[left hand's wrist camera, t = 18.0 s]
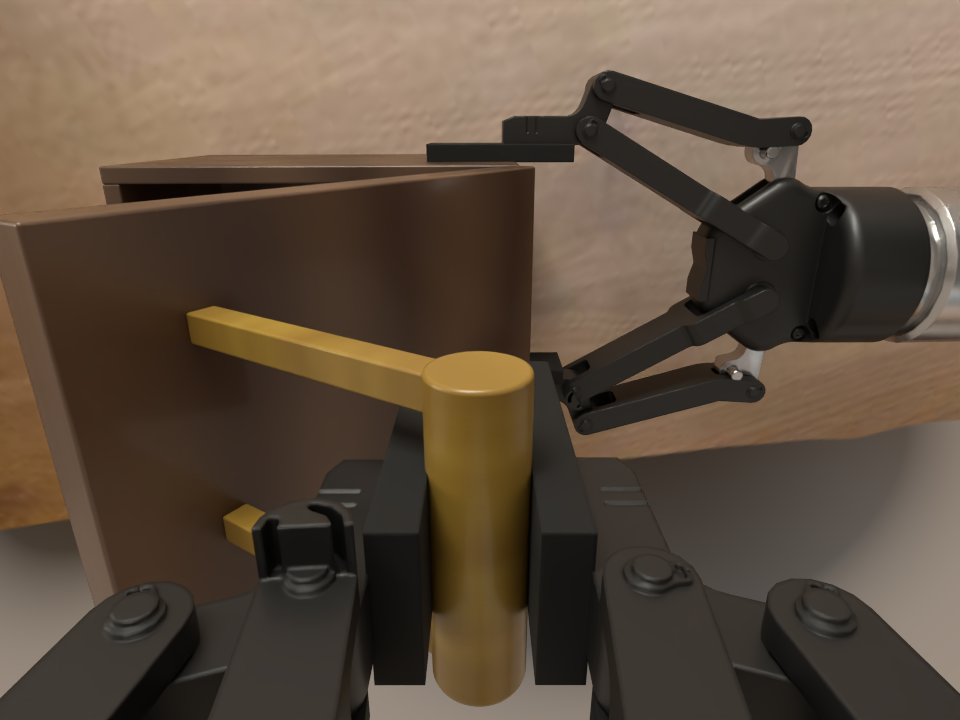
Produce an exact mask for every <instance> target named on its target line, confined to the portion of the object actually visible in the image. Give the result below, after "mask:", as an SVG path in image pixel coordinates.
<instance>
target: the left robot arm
mask: <svg viewBox="0 0 960 720" xmlns="http://www.w3.org/2000/svg"><path fill="white" fill-rule="evenodd" d="M526 362H527V363H529V365H530V366H531V367H532V369H533V371H534V374H535V382H534V415H533V447H532V477H531V509H530V540H529V572H528V603H527V605H528V615H529V625H530V635H531V646H532V656H533V666H534V676H535V684H536V685H586V676H587V664H588V665H589V669H590V674H591V679H592V684H593V689H592V700H591V712H590V720H960V693H959V692H958V691H956V690H955V689H954V688H953V687H952V686H951V685H950V684H949V683H948V682H947V681H946V680H945V679H944V678H943V677H942V676H941V675H940V674H939V673H938V672H937V671H936V670H935V669H934V668H933V667H932V666H931V665H930V664H929V663H928V662H926V661H925V660H924V659H923V658H922V657H921V656H920V655H919V654H918V653H917V652H916V651H915V650H914V649H913V648H912V647H911V646H910V645H909V644H908V643H907V642H906V641H905V640H904V639H903V638H902V637H901V636H900V635H899V634H898V633H897V632H895V631H894V630H893V629H892V628H891V627H890V626H889V625H888V624H887V623H886V622H885V621H884V620H883V619H882V618H881V617H880V616H879V615H878V614H877V613H876V612H875V611H874V610H873V609H872V608H870V607H869V606H868V605H866V604H865V603H864V602H863V601H861V600H860V599H859V598H857V597H856V596H854V595H853V594H851V593H849V592H847V591H845V590H842V589H840V588H838V587H836V586H834V585H831V584H828V583H824V582H820V581H816V580H812V579H789V580H785V581H782V582H779V583H776V584H775V585H774V586H773V588H772V589H771V590H770V591H769V592H768V595H767V600H766V603H765V602H760V601H756V600H751V599H747V598H743V597H738V596H734V595H730V594H726V593H723V592H720V591H716V590H714V589H711V588H709V587H707V586H705V585H703V583H702V580H701V578H700V577H699V575H698V574H697V572H696V571H695V569H694V568H693V566H691V565H690V564H689V563H687V562H686V561H685V560H683V559H682V558H681V557H679V556H678V555H675V554H673V553H671V552H670V550H669V548H668V545H667V543H666V541H665V539H664V537H663V534H662V532H661V530H660V528H659V525H658V523H657V521H656V519H655V516H654V514H653V512H652V510H651V508H650V506H649V505H648V501H647V499H646V497H645V494H644V492H643V491H642V488H641V485H640V483H639V481H638V479H637V477H636V474H635V472H634V471H633V470H632V469H630V468H629V467H628V466H627V465H625V464H624V463H623V462H622V461H621V460H619V459H618V458H576V456H575V452H574V449H573V446H572V442H571V439H570V435H569V432H568V428H567V425H566V422H565V418H564V415H563V411H562V408H561V405H560V401H559V398H558V394H557V391H556V387H555V384H554V381H553V377H552V374H551V370H550V367H549V363H548V361H526ZM251 531H252V538H253V544H254V551H255V557H256V563H257V570H258V576H259V581H258V584H257V587H256V588H255V589H253V590H250V591H248V592H246V593H243V594H239V595H236V596H233V597H229V598H225V599H220V600H216V601H212V602H207V603H203V604H199V605H195V602H194V597H193V594H192V593H191V592H190V591H189V590H188V589H187V588H186V587H185V586H184V585H180V584H177V583H174V582H171V581H161V582H148V583H144V584H140V585H136V586H132V587H128V588H126V589H124V590H122V591H120V592H118V593H116V594H114V595H112V596H110V597H108V598H106V599H105V600H104V601H102V602H101V603H100V604H98V605H97V606H96V607H94V608H93V609H92V610H91V611H89V612H88V613H87V614H86V615H85V616H84V617H83V618H82V619H81V620H80V621H79V622H78V623H77V624H76V625H75V626H74V627H73V628H72V629H71V630H70V631H69V632H68V633H67V634H66V635H65V636H64V637H63V638H62V639H61V640H60V641H59V642H58V643H57V644H56V645H55V646H53V647H52V648H51V650H49V651H48V652H47V653H46V654H45V655H44V656H43V657H42V658H41V659H40V660H39V661H38V662H37V663H36V664H35V665H34V666H33V667H32V668H31V669H30V670H29V671H28V672H27V673H26V674H25V675H24V676H23V677H22V678H21V679H20V680H19V681H18V682H17V683H16V684H14V685H13V686H12V688H10V689H9V690H8V691H7V692H6V693H5V694H4V695H3V696H2V697H1V698H0V720H369V719H370V712H369V700H368V685H369V680H370V675H371V670H372V665H373V670H374V682H375V685H425V681H426V671H427V661H428V651H429V641H430V631H431V621H432V584H431V556H430V528H429V500H428V475H427V473H426V471H425V460H424V435H423V413H421V412H418V411H414V410H411V409H408V408H404V407H401V406H400V407H399V410H398V414H397V417H396V420H395V424H394V427H393V431H392V434H391V438H390V441H389V444H388V448H387V451H386V455H385V458H384V460H343V461H341V462H340V463H339V464H338V465H336V466H335V467H334V468H333V469H332V470H330V471H329V472H328V473H327V474H326V476H325V478H324V480H323V483H322V485H321V487H320V489H319V493H318V494H317V496H316V498H308V499H302V500H295V501H291V502H288V503H285V504H282V505H280V506H277V507H274V508H273V509H271V510H270V511H268V512H267V513H265V514H264V515H262V516H261V517H260V518H259V519H258V520H257V522H256V523H255V524H254V526H253V527H252V528H251Z"/></svg>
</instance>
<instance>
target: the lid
mask: <svg viewBox="0 0 960 720" xmlns="http://www.w3.org/2000/svg"><path fill="white" fill-rule="evenodd" d="M534 185H535V168H534V167H531V166H500V167H490V168H479V169H469V170H459V171H449V172H438V173H428V174H418V175H408V176H397V177H387V178H377V179H367V180H356V181H346V182H336V183H326V184H316V185H305V186H295V187H285V188H275V189H264V190H254V191H244V192H234V193H223V194H213V195H203V196H193V197H182V198H172V199H162V200H152V201H141V202H131V203H121V204H111V205H100V206H90V207H80V208H70V209H60V210H49V211H39V212H29V213H19V214H8V215H0V276H1V280H2V283H3V287H4V290H5V294H6V297H7V301H8V304H9V308H10V311H11V315H12V318H13V322H14V325H15V329H16V332H17V336H18V339H19V343H20V346H21V350H22V353H23V357H24V360H25V364H26V367H27V371H28V374H29V378H30V381H31V385H32V388H33V392H34V395H35V399H36V402H37V406H38V409H39V413H40V416H41V420H42V423H43V427H44V430H45V434H46V437H47V441H48V444H49V448H50V451H51V455H52V458H53V462H54V465H55V469H56V472H57V476H58V479H59V483H60V486H61V490H62V493H63V497H64V500H65V504H66V507H67V511H68V514H69V518H70V521H71V525H72V528H73V532H74V535H75V539H76V542H77V546H78V549H79V552H80V556H81V560H82V563H83V567H84V570H85V574H86V577H87V581H88V584H89V588H90V591H91V595H92V598H93V602H94V605H95V607H96V606H97V605H98V604H100V603H101V602H102V601H104V600H105V599H106V598H108V597H110V596H112V595H114V594H116V593H118V592H120V591H122V590H124V589H126V588H128V587H132V586H136V585H140V584H144V583H148V582H161V581H171V582H174V583H177V584H180V585H184V586H185V587H186V588H187V589H188V590H189V591H190V592H191V593H192V594H193V597H194V602H195V605H199V604H203V603H207V602H212V601H216V600H220V599H225V598H229V597H233V596H236V595H239V594H243V593H246V592H248V591H250V590H253V589H255V588H256V587H257V584H258V581H259V576H258V570H257V563H256V557H255V551H254V544H253V538H252V531H251V528H252V527H253V526H254V524H255V523H256V522H257V520H258V519H259V518H260V517H261V516H262V515H264V514H265V513H267V512H268V511H270V510H271V509H273V508H274V507H277V506H280V505H282V504H285V503H288V502H291V501H295V500H302V499H308V498H316V496H317V494H318V493H319V489H320V487H321V485H322V483H323V480H324V478H325V476H326V474H327V473H328V472H329V471H330V470H332V469H333V468H334V467H335V466H336V465H338V464H339V463H340V462H341V461H343V460H384V458H385V455H386V451H387V448H388V444H389V441H390V438H391V434H392V431H393V427H394V424H395V420H396V417H397V414H398V410H399V407H400V406H401V407H404V408H408V409H411V410H414V411H418V412H421V413H423V435H424V460H425V471H426V473H427V475H428V500H429V528H430V556H431V584H432V621H431V631H430V641H429V652H430V653H432V658H433V673H434V677H435V680H436V682H437V684H438V685H439V687H440V688H441V690H442V691H443V692H444V693H445V694H446V695H447V696H448V697H450V698H451V699H453V700H455V701H457V702H459V703H461V704H464V705H469V706H476V707H483V706H490V705H494V704H497V703H500V702H502V701H504V700H506V699H507V698H509V697H510V696H511V695H512V694H513V693H514V692H515V691H516V690H517V689H518V688H519V686H520V684H521V683H522V681H523V678H524V676H525V670H526V643H527V610H528V605H527V603H528V572H529V540H530V509H531V477H532V447H533V415H534V382H535V374H534V371H533V369H532V367H531V366H530V365H529V363H527V362H526V361H530V331H531V294H532V258H533V221H534Z"/></svg>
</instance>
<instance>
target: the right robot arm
mask: <svg viewBox="0 0 960 720" xmlns="http://www.w3.org/2000/svg"><path fill="white" fill-rule="evenodd" d="M611 109H615V110H618V111H621V112H624V113H628V114H631V115H634V116H637V117H640V118H643V119H646V120H649V121H652V122H656V123H659V124H662V125H665V126H668V127H671V128H674V129H677V130H680V131H684V132H687V133H690V134H693V135H696V136H699V137H702V138H705V139H709V140H712V141H715V142H718V143H721V144H725V145H731V146H741V147H745V158H746V160H747V161H748V162H749V163H751V164H755V165H759V166H760V167H762V169H763V170H764V172H765V179H763V180H761V181H759V182H758V183H756V184H755V185H754V186H752V187H751V188H749V189H748V190H746V191H745V192H743V193H742V194H740V195H739V196H737V197H736V198H734V199H733V200H731V201H728V200H727V199H725V198H724V197H722V196H720V195H718V194H716V193H714V192H712V191H711V190H709V189H707V188H706V187H704V186H703V185H701V184H700V183H698V182H697V181H695V180H693V179H692V178H690V177H689V176H687V175H686V174H684V173H683V172H681V171H679V170H678V169H676V168H675V167H673V166H672V165H670V164H669V163H667V162H665V161H664V160H662V159H661V158H659V157H658V156H656V155H655V154H653V153H651V152H650V151H648V150H647V149H645V148H644V147H642V146H641V145H639V144H638V143H636V142H634V141H633V140H631V139H630V138H628V137H627V136H625V135H624V134H622V133H620V132H619V131H617V130H616V129H614V128H613V127H611V126H610V125H608V124H606V121H607V119H608V116H609V114H610V111H611ZM811 132H812V125H811V123H810V121H809V120H808V119H807V118H805V117H776V118H761V119H758V118H755V117H752V116H749V115H746V114H743V113H740V112H737V111H734V110H731V109H728V108H725V107H722V106H719V105H716V104H713V103H710V102H707V101H704V100H700V99H697V98H694V97H691V96H688V95H685V94H682V93H679V92H676V91H673V90H670V89H667V88H664V87H661V86H658V85H655V84H652V83H649V82H646V81H643V80H639V79H636V78H633V77H630V76H627V75H624V74H621V73H618V72H615V71H609V70H607V71H604V72H601V73H599V74H597V75H595V76H593V77H591V78H590V79H589V80H588V82H587V84H586V87H585V92H584V95H583V97H582V100H581V103H580V105H579V107H578V109H577V110H576V111H575V112H574V113H572V114H571V115H568V116H513V117H511V118H509V119H506V120H504V121H502V143H429V144H426V147H427V162H574V147H575V145H580V146H582V147H583V148H585V149H586V150H588V151H590V152H591V153H593V154H594V155H596V156H597V157H599V158H601V159H602V160H604V161H605V162H607V163H609V164H610V165H612V166H613V167H615V168H616V169H618V170H620V171H621V172H623V173H624V174H626V175H628V176H629V177H631V178H632V179H634V180H636V181H637V182H639V183H640V184H642V185H643V186H645V187H647V188H648V189H650V190H651V191H653V192H655V193H656V194H658V195H659V196H661V197H662V198H664V199H666V200H667V201H669V202H670V203H672V204H674V205H675V206H677V207H678V208H680V209H681V210H682V211H684V212H685V213H687V214H688V215H690V216H692V217H693V218H695V219H696V220H698V221H699V222H701V223H702V224H701V225H700V227H699V228H698V231H697V232H693V237H692V246H691V248H692V254H693V265H692V268H691V270H690V273H689V276H688V279H687V287H686V292H687V293H688V294H689V295H690V296H689V297H687V298H686V299H684V300H682V301H680V302H678V303H676V304H674V305H673V306H671V307H670V308H669V310H668V312H666V313H665V314H663V315H661V316H659V317H657V318H655V319H653V320H652V321H650V322H648V323H646V324H644V325H642V326H640V327H638V328H636V329H635V330H633V331H631V332H629V333H627V334H625V335H623V336H621V337H619V338H617V339H616V340H614V341H612V342H610V343H608V344H606V345H604V346H602V347H600V348H599V349H597V350H595V351H593V352H591V353H589V354H587V355H585V356H583V357H581V358H580V359H578V360H576V361H574V362H572V363H570V364H568V365H566V366H564V367H563V368H562V365H561V362H560V359H559V357H558V354H557V352H530V361H548V363H549V367H550V370H551V374H552V377H553V381H554V384H555V387H556V391H557V394H558V398H559V401H561V402H563V403H564V404H565V405H566V406H567V408H568V410H569V413H570V416H571V419H572V421H573V424H574V427H575V429H576V431H577V432H578V433H579V434H582V435H589V434H593V433H597V432H601V431H604V430H608V429H612V428H616V427H620V426H624V425H628V424H631V423H635V422H639V421H643V420H647V419H651V418H655V417H658V416H662V415H666V414H670V413H674V412H678V411H682V410H685V409H689V408H693V407H697V406H701V405H705V404H709V403H712V402H716V401H731V402H748V403H752V402H757V401H759V400H760V399H761V398H762V397H763V396H764V394H765V387H764V385H763V384H762V383H761V382H760V381H759V380H758V376H759V372H760V368H761V364H762V360H763V356H764V352H765V351H766V350H769V349H771V348H773V347H775V346H777V345H780V344H783V343H786V342H878V341H881V340H885V341H890V342H896V343H903V342H955V341H960V187H905V188H902V189H900V190H898V189H896V188H892V187H809V186H807V185H805V184H803V183H801V182H800V181H799V180H797V179H795V173H796V164H797V155H798V146H799V145H802V144H803V143H805V142H806V141H807V140H808V139H809V137H810V136H811ZM725 333H727V334H729V335H730V336H731V337H732V338H734V339H735V340H736V341H738V342H739V344H738V347H737V348H736V350H734V351H733V352H731V353H728V354H723V355H718V356H717V357H716V358H715V363H701V364H695V365H690V366H687V367H683V368H679V369H675V370H672V371H668V372H664V373H660V374H657V375H653V376H649V377H645V378H642V379H638V380H634V381H630V382H627V383H623V384H619V385H616V384H618V383H620V382H622V381H624V380H626V379H628V378H630V377H632V376H634V375H635V374H637V373H639V372H641V371H643V370H645V369H647V368H649V367H651V366H653V365H655V364H657V363H659V362H661V361H663V360H665V359H667V358H669V357H671V356H672V355H674V354H676V353H678V352H680V351H682V350H684V349H686V348H688V347H690V346H700V345H703V344H706V343H708V342H710V341H712V340H714V339H716V338H718V337H720V336H721V335H723V334H725ZM614 385H615V386H614Z"/></svg>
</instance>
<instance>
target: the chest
mask: <svg viewBox="0 0 960 720" xmlns="http://www.w3.org/2000/svg"><path fill="white" fill-rule="evenodd" d="M500 166H519V165H518V164H517V163H516V162H427V154H408V155H207V156H198V157H188V158H178V159H169V160H159V161H149V162H139V163H130V164H120V165H110V166H101V167H100V168H99V169H100V174H101V179H102V183H103V184H104V185H103V189H104V193H105V198H106V203H107V205H111V204H121V203H131V202H141V201H152V200H162V199H172V198H182V197H193V196H203V195H213V194H223V193H234V192H244V191H254V190H264V189H275V188H285V187H295V186H305V185H316V184H326V183H336V182H346V181H356V180H367V179H377V178H387V177H397V176H408V175H418V174H428V173H438V172H449V171H459V170H469V169H479V168H490V167H500Z"/></svg>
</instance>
